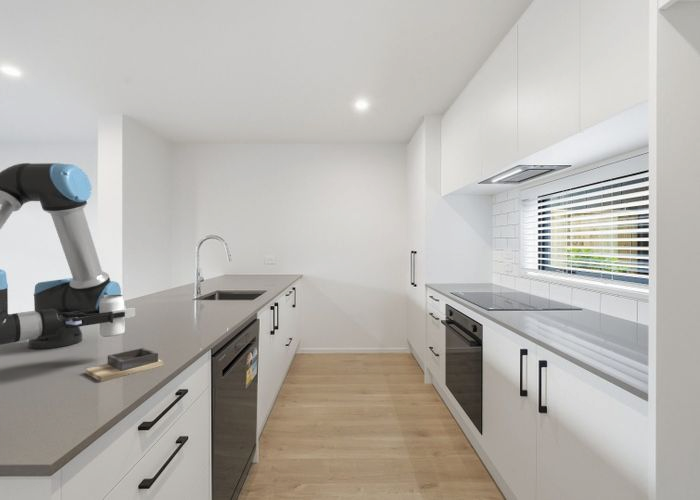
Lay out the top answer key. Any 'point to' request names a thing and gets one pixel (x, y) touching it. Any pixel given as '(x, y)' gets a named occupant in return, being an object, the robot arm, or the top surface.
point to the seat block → (125, 364)
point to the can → (109, 305)
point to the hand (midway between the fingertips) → (129, 310)
